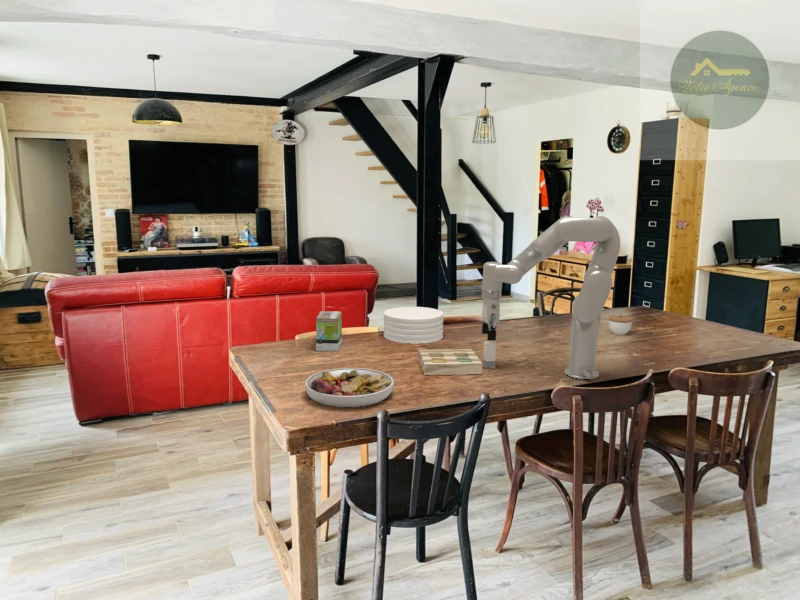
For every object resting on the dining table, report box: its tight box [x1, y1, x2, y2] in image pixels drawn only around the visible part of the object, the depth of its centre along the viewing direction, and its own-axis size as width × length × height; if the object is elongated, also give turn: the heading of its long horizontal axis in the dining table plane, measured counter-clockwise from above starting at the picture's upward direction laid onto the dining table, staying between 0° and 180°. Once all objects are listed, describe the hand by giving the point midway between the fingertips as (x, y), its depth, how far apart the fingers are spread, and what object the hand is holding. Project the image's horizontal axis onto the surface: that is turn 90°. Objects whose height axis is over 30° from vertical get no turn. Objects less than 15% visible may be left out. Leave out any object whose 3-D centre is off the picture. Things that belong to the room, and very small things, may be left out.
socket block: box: [418, 348, 483, 376], centre depth 235 cm, size 20×22×5 cm
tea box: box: [315, 310, 343, 352], centre depth 263 cm, size 15×10×15 cm
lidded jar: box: [608, 314, 633, 336], centre depth 291 cm, size 11×11×9 cm
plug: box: [482, 340, 497, 369], centre depth 236 cm, size 4×4×10 cm
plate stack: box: [383, 306, 444, 345], centre depth 283 cm, size 28×28×12 cm
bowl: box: [304, 367, 394, 408], centre depth 205 cm, size 30×30×8 cm
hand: (488, 336), depth 235 cm, fingers open, 9 cm apart
